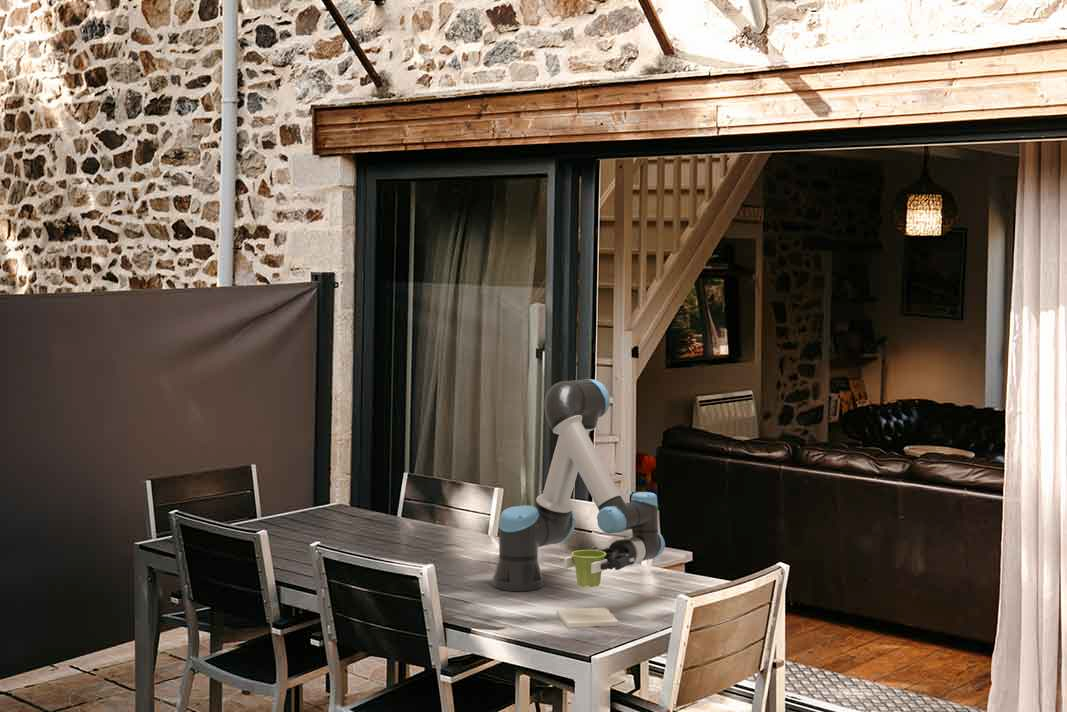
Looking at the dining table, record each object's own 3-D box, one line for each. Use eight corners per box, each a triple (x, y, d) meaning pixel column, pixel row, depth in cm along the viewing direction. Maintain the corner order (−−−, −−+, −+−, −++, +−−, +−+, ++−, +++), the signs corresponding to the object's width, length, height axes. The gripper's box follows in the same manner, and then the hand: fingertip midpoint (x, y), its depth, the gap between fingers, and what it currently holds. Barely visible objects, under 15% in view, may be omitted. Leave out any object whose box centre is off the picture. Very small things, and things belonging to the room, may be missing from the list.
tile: (556, 613, 347) (556, 609, 346) (605, 611, 349) (605, 607, 349) (567, 627, 333) (567, 623, 333) (618, 625, 336) (618, 621, 336)
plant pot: (585, 590, 334) (586, 558, 333) (564, 583, 341) (564, 552, 341) (612, 585, 339) (613, 554, 339) (591, 578, 347) (591, 548, 346)
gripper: (657, 570, 347) (610, 585, 330) (595, 559, 361) (547, 573, 343) (657, 544, 347) (610, 557, 329) (596, 533, 360) (547, 546, 343)
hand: (578, 565), depth 336 cm, fingers closed on plant pot, 8 cm apart
